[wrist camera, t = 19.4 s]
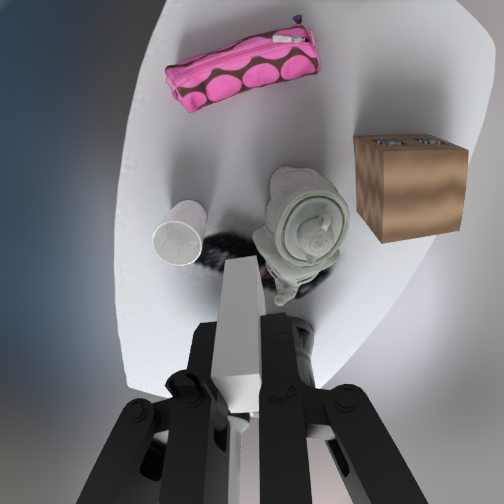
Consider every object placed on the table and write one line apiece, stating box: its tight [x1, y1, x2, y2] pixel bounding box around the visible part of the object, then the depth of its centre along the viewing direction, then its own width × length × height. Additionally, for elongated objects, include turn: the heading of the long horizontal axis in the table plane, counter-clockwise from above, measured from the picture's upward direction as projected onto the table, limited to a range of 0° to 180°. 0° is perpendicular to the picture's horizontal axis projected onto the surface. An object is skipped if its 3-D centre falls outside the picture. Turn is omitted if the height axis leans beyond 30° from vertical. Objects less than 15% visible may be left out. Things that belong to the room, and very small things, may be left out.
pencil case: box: [165, 15, 321, 113], centre depth 32 cm, size 21×10×10 cm, turn 111°
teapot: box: [253, 166, 349, 306], centre depth 41 cm, size 16×15×19 cm
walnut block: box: [353, 135, 469, 244], centre depth 39 cm, size 14×16×12 cm
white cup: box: [152, 200, 207, 266], centre depth 45 cm, size 8×8×10 cm
